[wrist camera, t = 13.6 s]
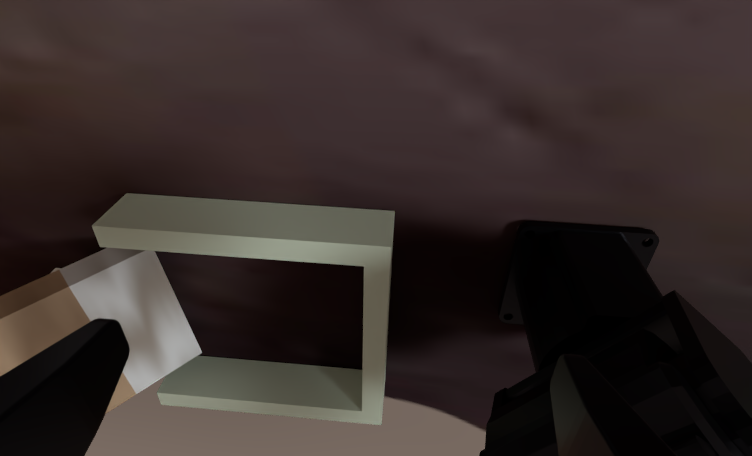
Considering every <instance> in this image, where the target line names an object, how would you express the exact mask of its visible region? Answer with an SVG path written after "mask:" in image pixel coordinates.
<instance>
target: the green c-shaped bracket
mask: <svg viewBox="0 0 752 456" xmlns="http://www.w3.org/2000/svg"><path fill="white" fill-rule="evenodd" d="M394 216H395V211H387V210H372V209H357V208H342V207H327V206H312V205H297V204H282V203H267V202H252V201H237V200H222V199H207V198H192V197H177V196H162V195H147V194H132V193H126V194H125V195H124V196H123V197H122V198H121V199H120V200H119V201H118V202H117V203H115V204H114V205H113V206H112V207H111V208H110V209H109V210H108V211H107V212H106V213H105V214H104V215H103V216H102V217H101V218H99V219H98V220H97V221H96V222H95V223H94V224H93V225H92V228H93V231H94V233H95V236H96V238H97V241H98V244H99V246H100V247H107V248H121V249H134V250H148V251H162V252H175V253H189V254H202V255H216V256H230V257H243V258H257V259H270V260H284V261H297V262H311V263H325V264H338V265H352V266H364V297H363V368H362V370H360V369H348V368H337V367H325V366H313V365H302V364H290V363H279V362H267V361H255V360H244V359H232V358H221V357H209V356H196V357H194V358H193V359H191V360H190V361H188V362H187V363H185V364H183V365H182V366H180V367H179V368H177V369H175V370H174V371H172V372H171V373H169V374H168V375H166V377H165V379H164V380H163V382H162V384H161V386H160V388H159V389H158V391H157V395H158V398H159V400H160V403H161V405H168V406H169V405H170V406H180V407H190V408H201V409H212V410H222V411H234V412H244V413H255V414H266V415H277V416H289V417H298V418H309V419H320V420H330V421H342V422H352V423H364V424H374V425H382V413H383V400H384V388H385V373H386V355H387V338H388V321H389V303H390V286H391V269H392V251H393V234H394Z"/></svg>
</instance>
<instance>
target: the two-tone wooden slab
mask: <svg viewBox="0 0 752 456" xmlns="http://www.w3.org/2000/svg"><path fill="white" fill-rule="evenodd" d="M98 318H104V319H115V320H117V321H118V322H119V323H120V324H121V327H122V329H123V332H124V334H125V336H126V339H127V341H128V344H129V348H130V352H129V357H128V360H127V362H126V365H125V367H124V369H123V372H122V374H121V377H120V379H119V382H118V384H117V386H116V389H115V391H114V394H113V396H112V399H111V401H110V403H109V406H108V408H107V411H106V413H107V412H109V411H110V410H112V409H114V408H115V407H117V406H118V405H120V404H122V403H123V402H125V401H127V400H128V399H129V398H131V397H133V396H134V395H136V394H138V393H139V392H141V391H142V390H144V389H145V388H147V387H149V386H150V385H152V384H153V383H155V382H157V381H158V380H159V379H161V378H163V377H164V376H166V375H168V374H169V373H171V372H172V371H174V370H175V369H177V368H179V367H180V366H182V365H183V364H185V363H187V362H188V361H190V360H191V359H193V358H194V357H196V356H198V355H199V354H201V353H202V351H201V349H200V347H199V345H198V343H197V341H196V338H195V336H194V334H193V332H192V330H191V328H190V326H189V323H188V321H187V319H186V317H185V315H184V313H183V311H182V308H181V306H180V304H179V302H178V300H177V298H176V296H175V294H174V291H173V289H172V287H171V285H170V283H169V281H168V279H167V276H166V274H165V272H164V270H163V268H162V266H161V264H160V261H159V259H158V257H157V255H156V253H155V251H148V250H134V249H121V248H106V249H103V250H101V251H99V252H97V253H95V254H92V255H90V256H88V257H86V258H84V259H81V260H79V261H77V262H75V263H72V264H70V265H68V266H66V267H64V268H61V269H59V270H57V271H55V272H53V273H50V274H48V275H46V276H44V277H41V278H39V279H37V280H35V281H33V282H30V283H28V284H26V285H24V286H21V287H19V288H17V289H15V290H13V291H10V292H8V293H6V294H4V295H2V296H0V376H2V375H3V374H5V373H7V372H8V371H10V370H12V369H13V368H15V367H17V366H18V365H20V364H22V363H23V362H25V361H26V360H28V359H30V358H31V357H33V356H35V355H36V354H38V353H40V352H41V351H43V350H45V349H46V348H48V347H49V346H51V345H53V344H54V343H56V342H58V341H59V340H61V339H63V338H64V337H66V336H68V335H69V334H71V333H73V332H74V331H76V330H77V329H79V328H81V327H82V326H84V325H86V324H87V323H89V322H91V321H92V320H94V319H98ZM106 413H105V414H106Z"/></svg>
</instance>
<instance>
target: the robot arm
mask: <svg viewBox="0 0 752 456" xmlns="http://www.w3.org/2000/svg"><path fill="white" fill-rule="evenodd" d="M529 230H532V231H533V232H532V233H531V234H525V232H527V231H529ZM648 238H650V239H649V240H648V241H646V242H643V240H645V239H648ZM658 243H659V238H658V236H657V235H656V234H655V232H654V231H652V230H649V229H637V228H622V227H607V226H592V225H577V224H562V223H547V222H532V221H529V222H525V223H522V224H521V225H520V226H519V228H518V231H517V235H516V239H515V243H514V247H513V252H512V256H511V260H510V264H509V268H508V272H507V276H506V280H505V285H504V289H503V293H502V297H501V301H500V305H499V309H498V315H499V319H500V321H502V322H503V323H510V324H523V325H524V327H525V331H526V335H527V339H528V343H529V347H530V351H531V355H532V359H533V363H534V367H535V371H536V373H535V374H533V375H531V376H529V377H528V378H526V379H524V380H522V381H521V382H519V383H517V384H516V385H514V386H512V387H510V388H509V389H507V388H504V389H502V390H500V391H499V392H497V393H495V396H494V402H493V407H492V413H491V417H490V419H489V421H488V423H487V427H486V443H485V449H484V450H482V451H481V452H480V455H479V456H752V364H751V362H750V361H749V360H748V359H747V357H746V356H745V355H744V354H743V352H742V351H741V350H740V349H739V348H738V347H737V346H736V345H734V344H733V343H732V342H731V341H730V340H729V339H728V338H727V337H726V336H725V335H723V334H722V333H721V332H720V331H719V330H718V329H717V328H716V327H715V326H714V325H712V324H711V323H710V322H709V321H708V320H707V319H706V318H705V317H704V316H703V315H702V314H700V313H699V312H698V311H697V310H696V309H695V308H694V307H693V306H692V305H691V304H689V303H688V302H687V301H686V300H685V299H684V298H683V297H682V296H681V295H680V294H679V293H677V292H676V291H675V290H674V291H672V292H670V293H669V294H667V295H665V296H662V294H661V293H660V291H659V289H658V288H657V286H656V285H655V283H654V282H653V280H652V278H651V277H650V275H649V274H648V272H647V270H646V269H647V267H648V265H649V263H650V261H651V259H652V256H653V254H654V252H655V250H656V248H657V246H658ZM508 313H510V314H509V315H505V314H508ZM129 352H130V348H129V344H128V341H127V339H126V336H125V334H124V332H123V329H122V327H121V324H120V323H119V322H118V321H117V320H115V319H104V318H98V319H94V320H92V321H91V322H89V323H87V324H86V325H84V326H82V327H81V328H79V329H77V330H76V331H74V332H73V333H71V334H69V335H68V336H66V337H64V338H63V339H61V340H59V341H58V342H56V343H54V344H53V345H51V346H49V347H48V348H46V349H45V350H43V351H41V352H40V353H38V354H36V355H35V356H33V357H31V358H30V359H28V360H26V361H25V362H23V363H22V364H20V365H18V366H17V367H15V368H13V369H12V370H10V371H8V372H7V373H5V374H3V375H2V376H0V456H84V455H85V453H86V451H87V450H88V448H89V446H90V444H91V442H92V440H93V438H94V437H95V435H96V433H97V430H98V429H99V426H100V424H101V422H102V420H103V418H104V416H105V413H106V411H107V408H108V406H109V403H110V401H111V399H112V396H113V394H114V391H115V389H116V386H117V384H118V382H119V379H120V377H121V374H122V372H123V369H124V367H125V365H126V362H127V360H128V357H129Z"/></svg>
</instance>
